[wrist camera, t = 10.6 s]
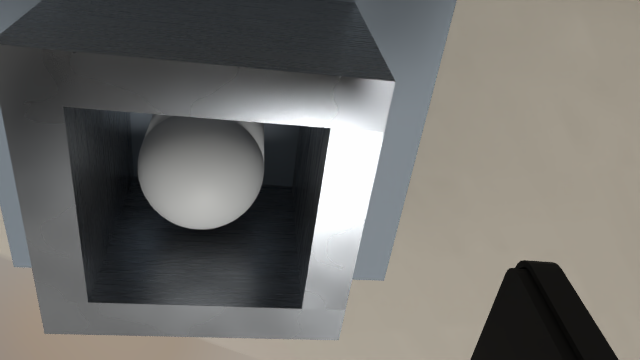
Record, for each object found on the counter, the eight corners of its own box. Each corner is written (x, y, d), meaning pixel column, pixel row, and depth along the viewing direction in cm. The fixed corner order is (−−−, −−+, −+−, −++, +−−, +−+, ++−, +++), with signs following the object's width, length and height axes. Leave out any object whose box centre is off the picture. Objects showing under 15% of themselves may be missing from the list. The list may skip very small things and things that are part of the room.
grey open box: (355, 2, 14) (395, 81, 10) (320, 214, 17) (338, 340, 13) (77, -29, 13) (-12, 44, 9) (100, 202, 16) (44, 333, 12)
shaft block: (447, -118, 15) (573, -76, 9) (369, 227, 22) (413, 390, 15) (-22, -186, 13) (-263, -193, 7) (45, 210, 20) (-53, 386, 14)
